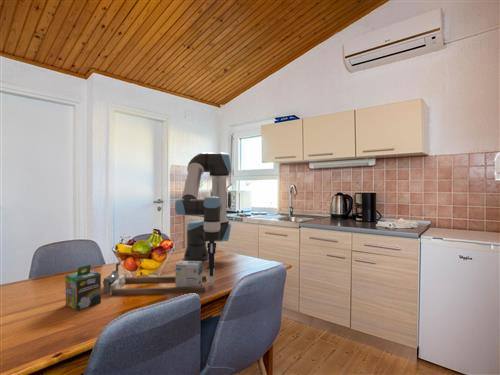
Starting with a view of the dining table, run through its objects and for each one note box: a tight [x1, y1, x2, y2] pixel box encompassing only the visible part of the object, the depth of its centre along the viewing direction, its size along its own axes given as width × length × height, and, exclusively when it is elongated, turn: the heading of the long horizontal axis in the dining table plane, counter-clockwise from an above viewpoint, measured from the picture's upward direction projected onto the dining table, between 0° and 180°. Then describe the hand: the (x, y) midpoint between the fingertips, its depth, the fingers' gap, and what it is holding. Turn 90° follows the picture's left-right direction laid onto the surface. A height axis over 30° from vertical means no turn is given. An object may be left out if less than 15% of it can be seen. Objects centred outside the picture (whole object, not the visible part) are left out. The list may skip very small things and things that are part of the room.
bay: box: [109, 272, 207, 296], centre depth 128 cm, size 16×38×4 cm, turn 96°
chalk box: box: [64, 264, 102, 312], centre depth 109 cm, size 9×9×15 cm
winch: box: [102, 262, 121, 294], centre depth 128 cm, size 16×4×9 cm, turn 6°
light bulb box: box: [174, 260, 203, 287], centre depth 130 cm, size 11×7×11 cm, turn 84°
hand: (211, 282), depth 131 cm, fingers closed
